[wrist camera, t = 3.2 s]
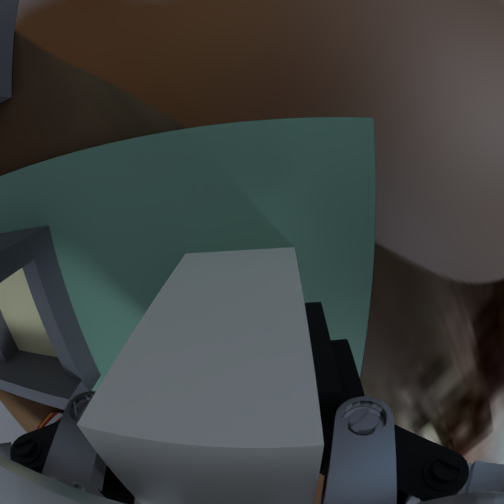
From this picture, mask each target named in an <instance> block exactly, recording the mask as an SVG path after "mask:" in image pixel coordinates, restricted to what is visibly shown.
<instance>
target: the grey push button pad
mask: <svg viewBox="0 0 504 504" xmlns="http://www.w3.org/2000/svg"><path fill="white" fill-rule="evenodd" d="M18 1H19V0H0V104H1V103H2V102H4V101H6V100H8V99H9V98H11V97H12V57H13V42H14V32H15V23H16V15H17V8H18Z"/></svg>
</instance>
